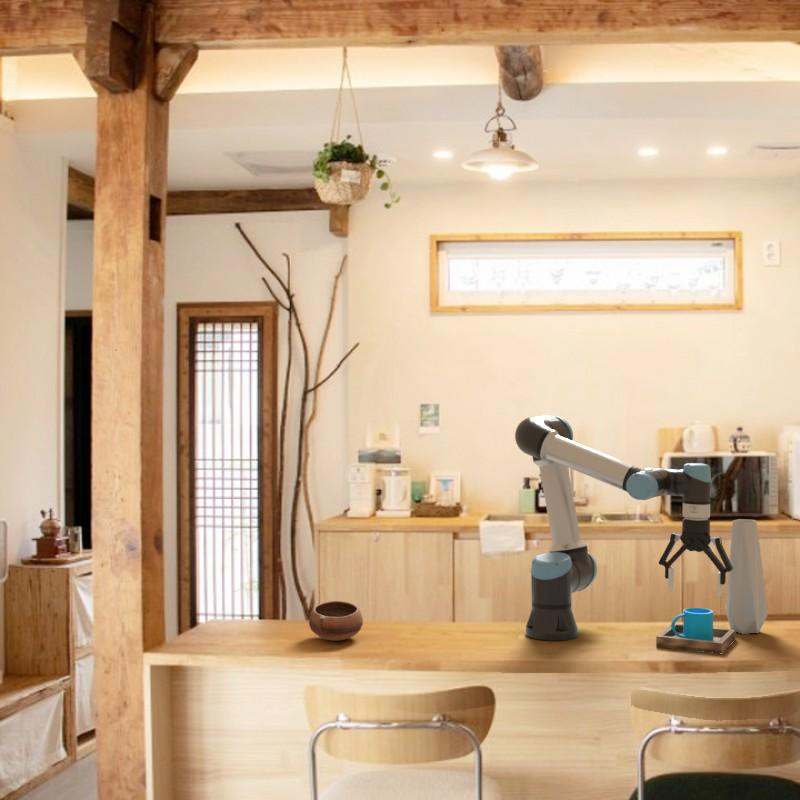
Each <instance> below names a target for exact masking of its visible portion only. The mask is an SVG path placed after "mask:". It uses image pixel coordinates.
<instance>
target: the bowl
mask: <svg viewBox="0 0 800 800" xmlns="http://www.w3.org/2000/svg"><path fill="white" fill-rule="evenodd" d="M309 614H310V615H309V618H308V619H309V620H308V625H309V628H310V630H311V631H312V632H313V633H314V634H315V636H318V637H320V638H321V639H324V640H327V641H331V642H333V641H334V642H337V641H344V640H348V639H350V638H352V637H354V636H356V635H357V634H358V633H359V632H360V631H361V629H362V627H363V624H364V621H363V620H364V619H363V614H362V612H361V610H360V608H359V607H358V606H357V605H355V604H354V603H351V602H348V601H343V600H342V601H341V600H331V601H325V602H321V603H318V604H316V605H315V606H314V607H313V608H312V610H311V612H310V613H309Z"/></svg>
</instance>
